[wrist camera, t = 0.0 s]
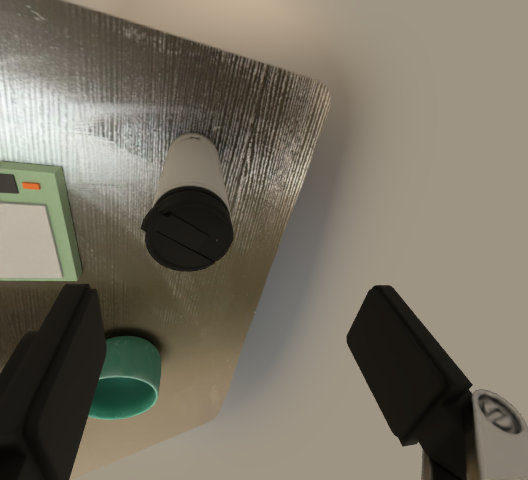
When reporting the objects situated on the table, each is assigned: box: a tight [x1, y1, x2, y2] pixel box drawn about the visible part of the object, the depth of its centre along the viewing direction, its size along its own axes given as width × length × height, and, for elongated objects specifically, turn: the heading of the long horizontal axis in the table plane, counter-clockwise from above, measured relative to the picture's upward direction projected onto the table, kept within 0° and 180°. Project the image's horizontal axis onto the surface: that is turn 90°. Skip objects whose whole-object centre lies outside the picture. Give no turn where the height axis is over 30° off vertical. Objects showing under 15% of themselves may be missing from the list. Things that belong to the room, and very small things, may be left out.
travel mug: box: [141, 132, 233, 272], centre depth 28 cm, size 6×7×20 cm
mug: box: [88, 336, 161, 420], centre depth 49 cm, size 17×13×10 cm
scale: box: [0, 161, 82, 281], centre depth 35 cm, size 16×14×3 cm
